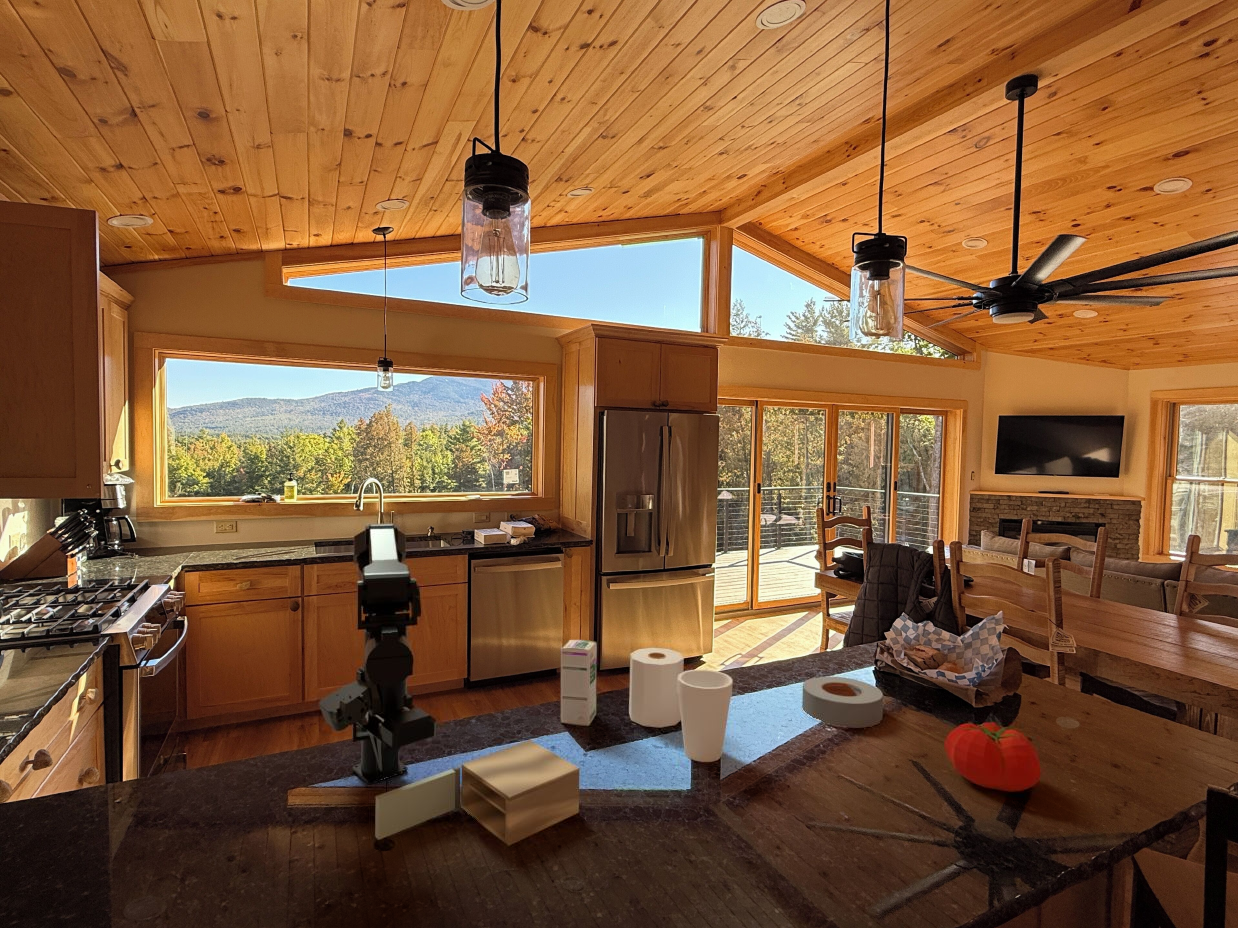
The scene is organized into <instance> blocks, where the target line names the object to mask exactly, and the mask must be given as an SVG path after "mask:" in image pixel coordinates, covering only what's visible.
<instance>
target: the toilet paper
mask: <svg viewBox="0 0 1238 928" xmlns="http://www.w3.org/2000/svg"><path fill="white" fill-rule="evenodd" d="M629 657H630V664H629V701H628V702H629V704H628V714H629V718H630V720H631V721H632V722H634V723H636V724H638V725H641V726H643V727H652V728H660V729H661V728H664V727H670V726H671V727H672V726H676V725H677V724H678V723H679V722H681V713H680V703H679V694H678V693H677V682H678V675H679V674H681V673H682V672H684V665H685V664H684V663H685V662H684V660H685V658H684V656H683V655H682V653H681V652H679V651H675V650H673V649H670V648H662V647H661V648H659V647H647V648H640V649H636V650H635V651H633V652H631V653H630V656H629Z"/></svg>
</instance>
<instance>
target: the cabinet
mask: <svg viewBox="0 0 1238 928" xmlns="http://www.w3.org/2000/svg"><path fill="white" fill-rule="evenodd" d="M579 807H580V767H579V766H577V765H575V764H573V763H571V762H570V761H568V760H566V759H564V758H563V757H562V756H559V755H557V754H556V753H554V752H552V751H551V750H548V749H546V748H545V747H543V746H541V745H539V744H538V743H536V742H534V741H533V740H531V739H528V740H525V741H522V742H520V743H517V744H514V745H511V746H509V747H508V746H507V747H506V748H503V749H500V750H498V751H494V752H492V753H489V754H486V755H483V756H481V757H478V758H475V759H472V760H469V761H467V762H464V763H461V782H460V808H463V809H464V810H465V811H466V812H467V814H468V815H469V814H470V815H471V816H472V818H473V817H474V818H475V819H476V820H477V821H476V820H475V819H474V818H473V819H474V820H475V821H476V822H478V823H479V824H481V826H483V827H484V828H485V829H486V830H488V831H489V832H491V834H493V835H494V836H496V837H497V838H498V839H499V840H501V841H502V842H503V843H504V844H506V845H507V846H509V847H510V846H512V845H513V844H516V843H518V842H520V841H522V840H524V839H526V838H528V837H530V836H532V835H534V834H537V833H539V832H541V831H543V830H545V829H546V828H547V829H548V828H549V827H552V826H554V825H556V824H557V823H559V822H562V821H564V820H566V819H569V818H570V817H572V816H574V815H577V814H578V813H579V812H580V811H579ZM463 809H462V810H463ZM464 810H463V811H464ZM465 811H464V812H465ZM466 812H465V813H466ZM470 815H469V816H470ZM471 816H470V817H471Z"/></svg>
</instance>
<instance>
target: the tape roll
mask: <svg viewBox="0 0 1238 928" xmlns="http://www.w3.org/2000/svg"><path fill="white" fill-rule="evenodd" d="M801 699H802V701H801V703H802V704H801V709H802V708H803V710H804V711H805V712H806V713H807V714H809V715H810V716H812V717H813V718H816V719H819V720H821V721H823V722H826V723H830V724H834V725H840V726H846V727H864V726H872V725H874V724H877V723H879V722H880V721H881V720H882V721H883V719H882V718H884V717H883V715H884V714H883V712H884V711H883V710H884V709H883V708H884V694H883V692H882V691H881V689H880V688H878V687H876V686H875V685H872V684H870V683H867V682H865V681H862V680H859V679H858V680H857V679H854V678H848V677H842V676H820V677H812V678H809V679H807V680H805V681H804V682H803V683H802V698H801ZM803 710H802V711H803Z"/></svg>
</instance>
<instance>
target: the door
mask: <svg viewBox="0 0 1238 928" xmlns="http://www.w3.org/2000/svg"><path fill="white" fill-rule="evenodd" d="M459 808H461V767H460V766H454V767H453V768H451V769H448V770H445V771H442V772H440V773H437V774H434V775H432V776H428V777H426V778H422V779H420V780H417V781H415V782H412V783H409V784H406V785H404V786H401V787H398V788H395V789H391V790H389V791H387V792H384V793H381V794H379V795H378V794H377V795H376V796H375V814H374V815H375V817H374V818H375V820H374V821H375V824H374V825H375V827H374V828H375V830H374V831H375V832H374V833H375V834H374V836H375V838H376V839H377V840H379V841H380V840H383V839H384V838H387V837H389V836H391V835H393V834H396V833H399V832H402V831H405V830H406V829H409V828H412V827H414V826H416V825H418V824H421V823H424V822H426V821H428V820H431V819H433V818H436V817H439V816H441V815H444V814H446V813H449V812H450V811H454V810H457V809H459Z"/></svg>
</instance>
